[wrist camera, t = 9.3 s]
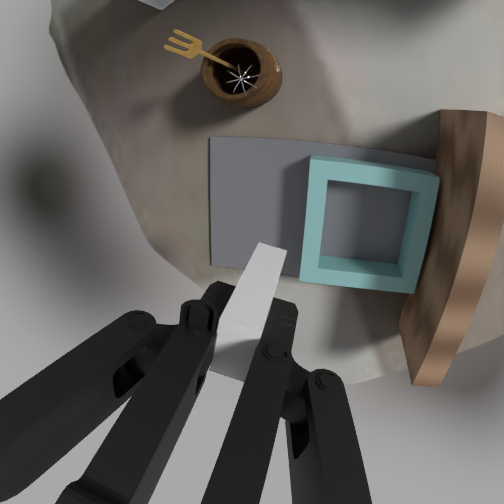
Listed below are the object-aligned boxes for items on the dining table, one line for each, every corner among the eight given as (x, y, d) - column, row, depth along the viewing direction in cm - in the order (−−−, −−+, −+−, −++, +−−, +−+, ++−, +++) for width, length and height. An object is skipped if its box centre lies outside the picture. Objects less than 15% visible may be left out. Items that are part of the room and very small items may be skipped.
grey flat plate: (211, 136, 30) (210, 136, 30) (435, 159, 26) (436, 160, 26) (212, 263, 36) (211, 265, 36) (409, 287, 32) (409, 289, 32)
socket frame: (311, 154, 29) (310, 159, 26) (429, 171, 27) (439, 177, 24) (301, 266, 34) (299, 281, 31) (407, 279, 32) (413, 293, 29)
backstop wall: (440, 109, 24) (487, 111, 16) (466, 116, 24) (519, 122, 15) (397, 323, 35) (411, 385, 26) (420, 325, 34) (438, 386, 25)
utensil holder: (261, 119, 29) (224, 123, 18) (208, 86, 28) (145, 77, 18) (296, 69, 26) (279, 42, 15) (240, 37, 26) (193, 0, 15)
